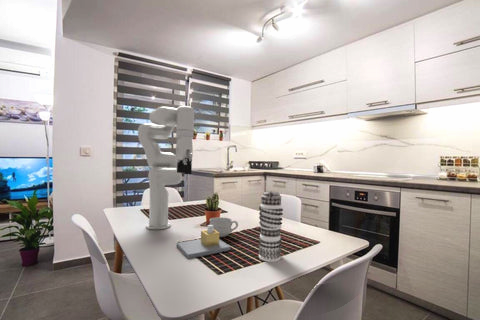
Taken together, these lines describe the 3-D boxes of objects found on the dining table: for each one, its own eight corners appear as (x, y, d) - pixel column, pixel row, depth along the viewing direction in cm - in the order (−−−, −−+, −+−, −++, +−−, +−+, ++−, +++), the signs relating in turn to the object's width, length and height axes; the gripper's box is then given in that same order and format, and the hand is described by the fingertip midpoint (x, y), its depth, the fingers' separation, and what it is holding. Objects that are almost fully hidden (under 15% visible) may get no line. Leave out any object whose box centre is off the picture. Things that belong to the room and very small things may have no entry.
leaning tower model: (265, 263, 87) (267, 194, 87) (253, 254, 95) (255, 190, 95) (286, 260, 91) (288, 193, 90) (273, 251, 99) (275, 190, 99)
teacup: (205, 236, 115) (205, 220, 115) (215, 230, 125) (216, 215, 125) (231, 241, 110) (232, 223, 110) (240, 234, 120) (241, 218, 120)
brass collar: (200, 242, 103) (201, 230, 103) (213, 240, 106) (213, 228, 106) (206, 246, 98) (206, 234, 98) (219, 244, 101) (219, 232, 101)
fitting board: (176, 246, 101) (177, 225, 101) (215, 239, 111) (216, 220, 111) (187, 258, 90) (188, 234, 89) (230, 250, 99) (231, 228, 99)
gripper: (171, 135, 113) (170, 172, 113) (182, 132, 98) (181, 174, 98) (186, 136, 117) (185, 172, 117) (200, 134, 102) (199, 174, 102)
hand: (183, 173), depth 108 cm, fingers open, 9 cm apart
